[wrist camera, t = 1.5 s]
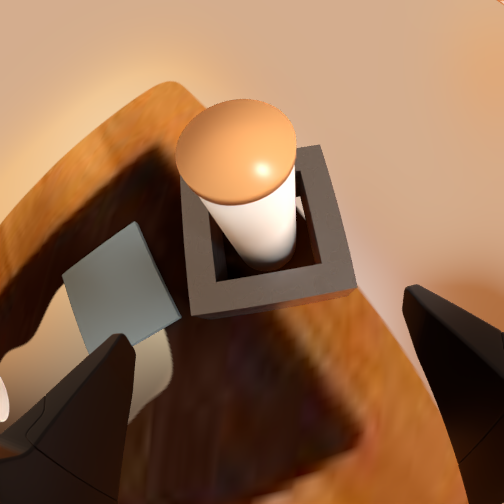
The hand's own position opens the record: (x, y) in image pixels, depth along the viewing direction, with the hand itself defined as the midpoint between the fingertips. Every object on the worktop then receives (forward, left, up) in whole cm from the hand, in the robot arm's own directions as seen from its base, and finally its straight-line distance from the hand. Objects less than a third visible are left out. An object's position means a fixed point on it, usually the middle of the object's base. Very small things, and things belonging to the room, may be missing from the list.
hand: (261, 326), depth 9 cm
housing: (+6, +3, -13) cm, 14 cm away
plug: (+6, +3, -13) cm, 14 cm away
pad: (-1, +14, -13) cm, 19 cm away
